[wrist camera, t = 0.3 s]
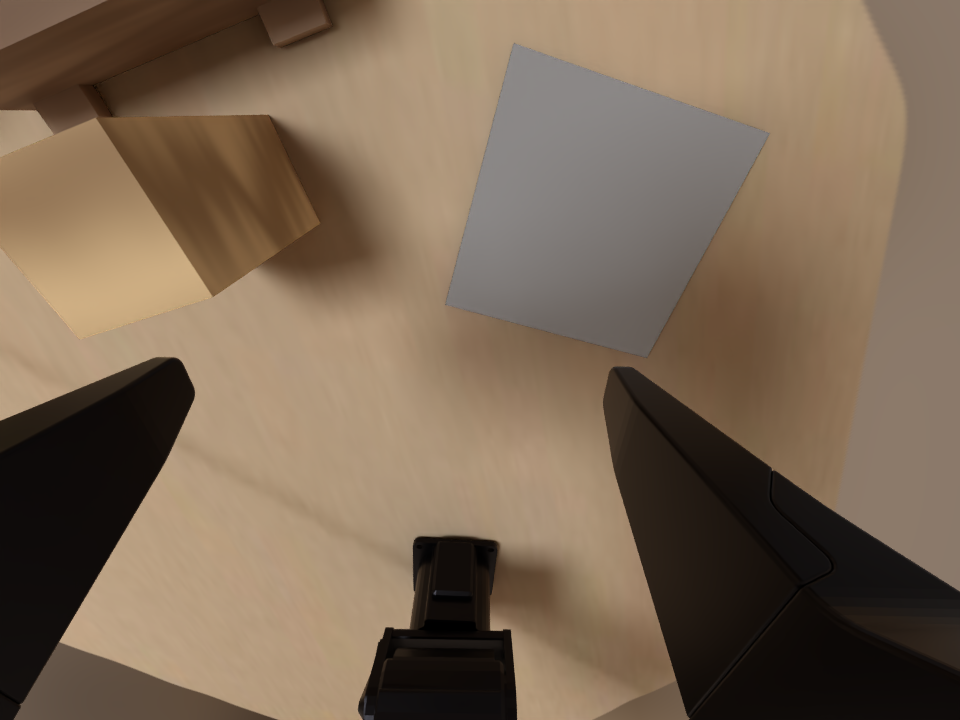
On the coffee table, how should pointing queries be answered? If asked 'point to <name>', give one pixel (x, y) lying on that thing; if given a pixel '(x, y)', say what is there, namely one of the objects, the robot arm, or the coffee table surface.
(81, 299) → the letter block
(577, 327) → the felt mat
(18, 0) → the walnut screen
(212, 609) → the coffee table surface
